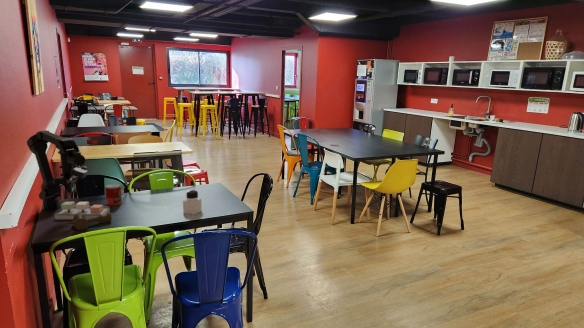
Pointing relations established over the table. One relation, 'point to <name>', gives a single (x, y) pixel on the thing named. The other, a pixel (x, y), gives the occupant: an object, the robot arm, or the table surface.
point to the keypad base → (71, 213)
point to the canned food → (113, 194)
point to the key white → (82, 205)
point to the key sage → (68, 205)
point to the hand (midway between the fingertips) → (70, 192)
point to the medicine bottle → (192, 203)
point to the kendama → (88, 220)
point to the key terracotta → (96, 208)
